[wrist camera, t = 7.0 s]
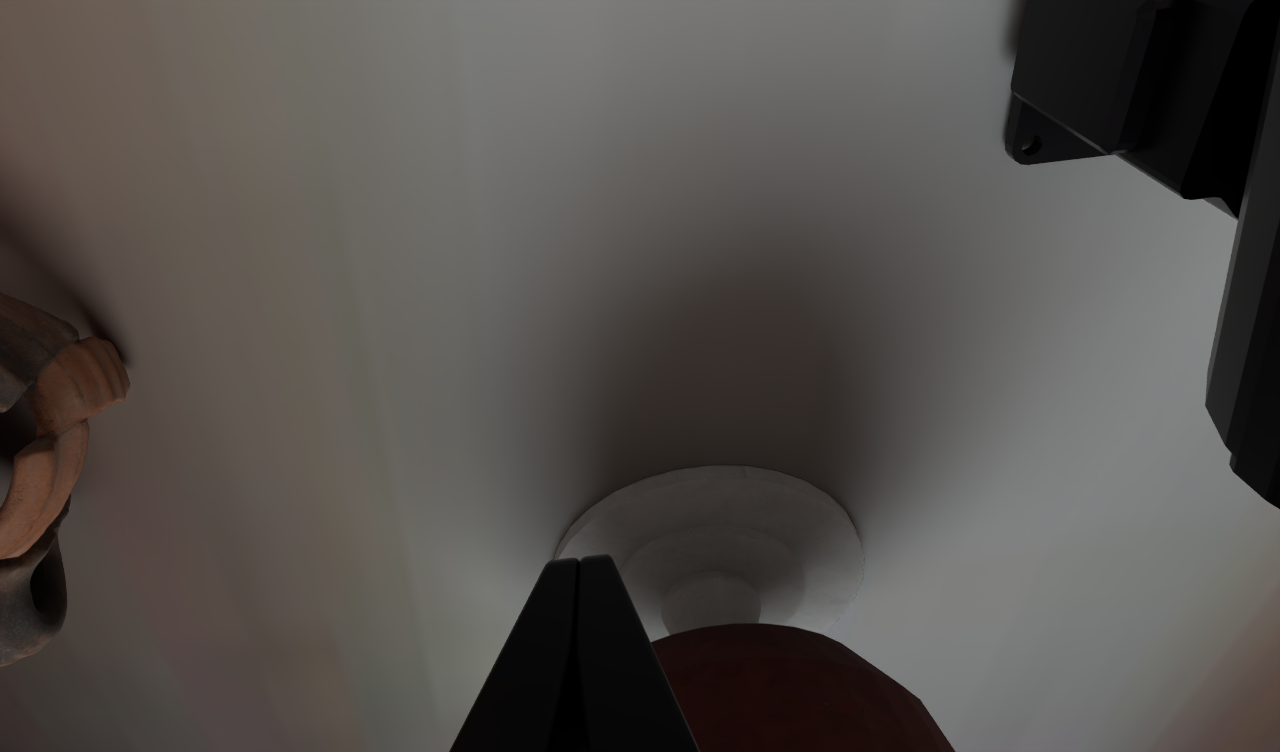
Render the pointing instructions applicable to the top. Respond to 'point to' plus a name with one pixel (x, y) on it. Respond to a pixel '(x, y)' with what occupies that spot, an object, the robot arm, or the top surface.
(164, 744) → the top surface
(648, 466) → the top surface
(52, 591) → the pottery mug
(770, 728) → the mate gourd
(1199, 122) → the robot arm
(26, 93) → the top surface
